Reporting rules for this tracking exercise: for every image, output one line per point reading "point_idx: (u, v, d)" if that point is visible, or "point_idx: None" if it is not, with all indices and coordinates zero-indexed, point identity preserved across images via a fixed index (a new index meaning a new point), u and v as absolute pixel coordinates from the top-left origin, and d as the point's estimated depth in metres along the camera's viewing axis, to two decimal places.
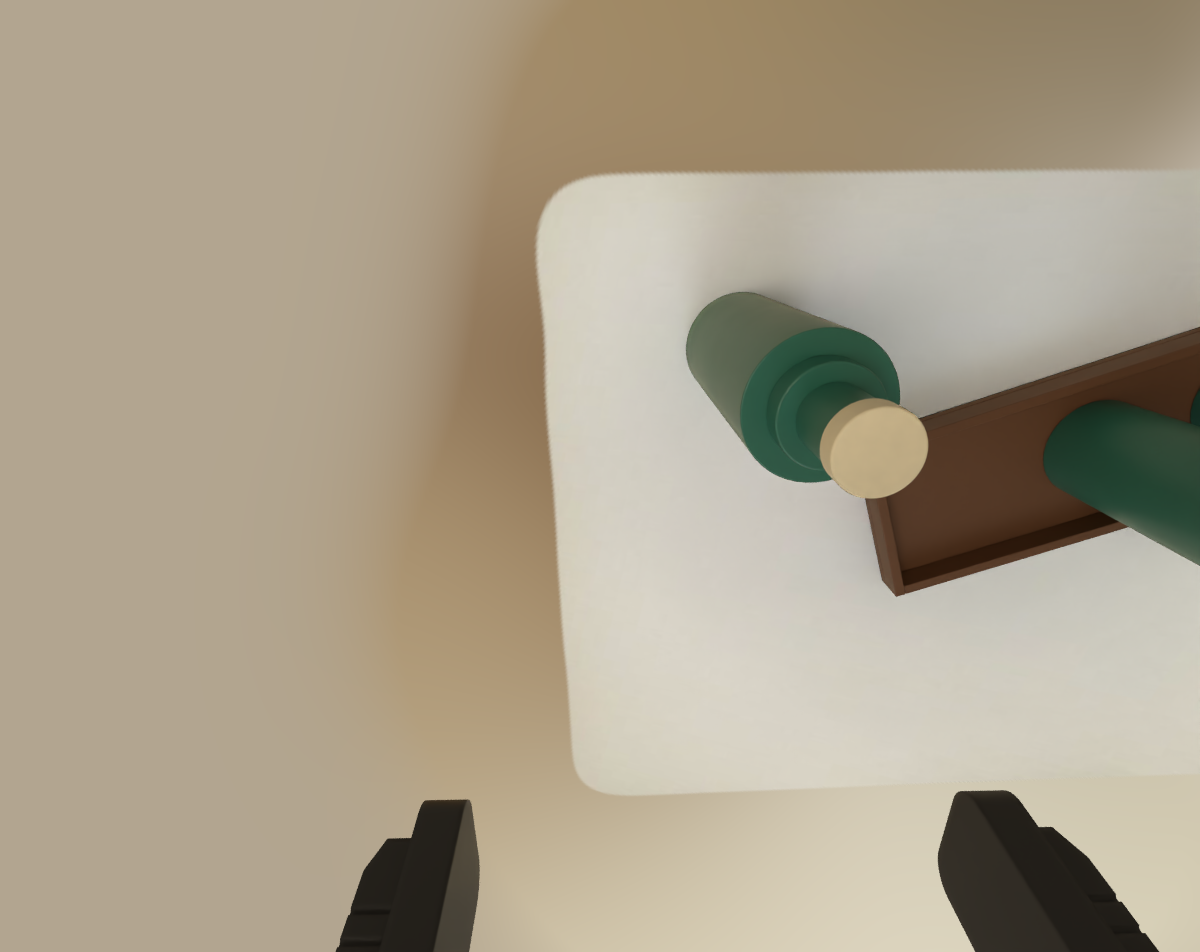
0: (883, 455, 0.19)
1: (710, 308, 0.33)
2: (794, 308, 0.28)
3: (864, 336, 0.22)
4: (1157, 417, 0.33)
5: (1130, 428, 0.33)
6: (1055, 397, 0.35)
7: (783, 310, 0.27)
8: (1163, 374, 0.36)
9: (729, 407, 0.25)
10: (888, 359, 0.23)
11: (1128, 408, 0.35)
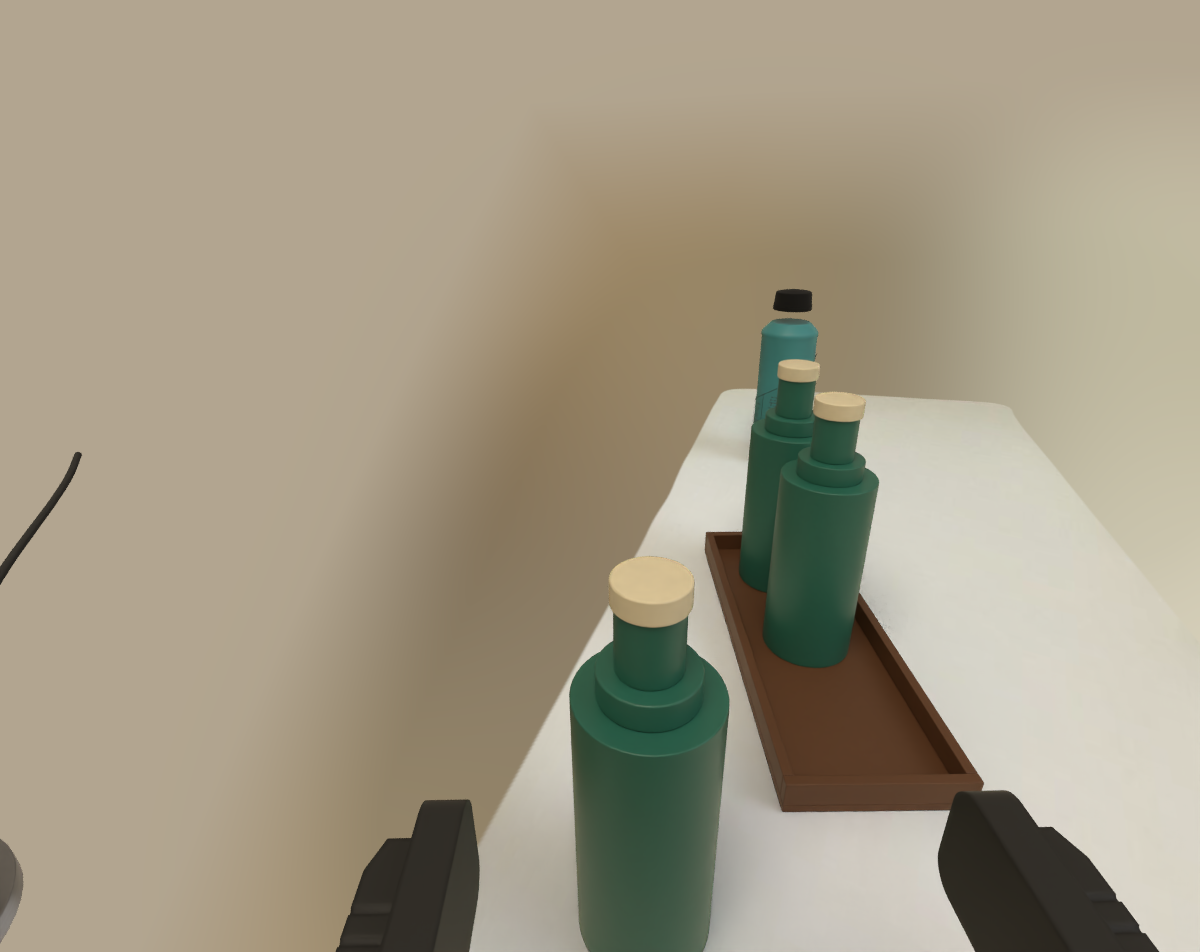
0: (653, 576, 0.21)
1: (582, 922, 0.27)
2: None
3: (593, 656, 0.25)
4: (767, 591, 0.44)
5: (773, 602, 0.43)
6: (750, 650, 0.42)
7: None
8: (747, 606, 0.49)
9: (637, 795, 0.22)
10: None
11: None
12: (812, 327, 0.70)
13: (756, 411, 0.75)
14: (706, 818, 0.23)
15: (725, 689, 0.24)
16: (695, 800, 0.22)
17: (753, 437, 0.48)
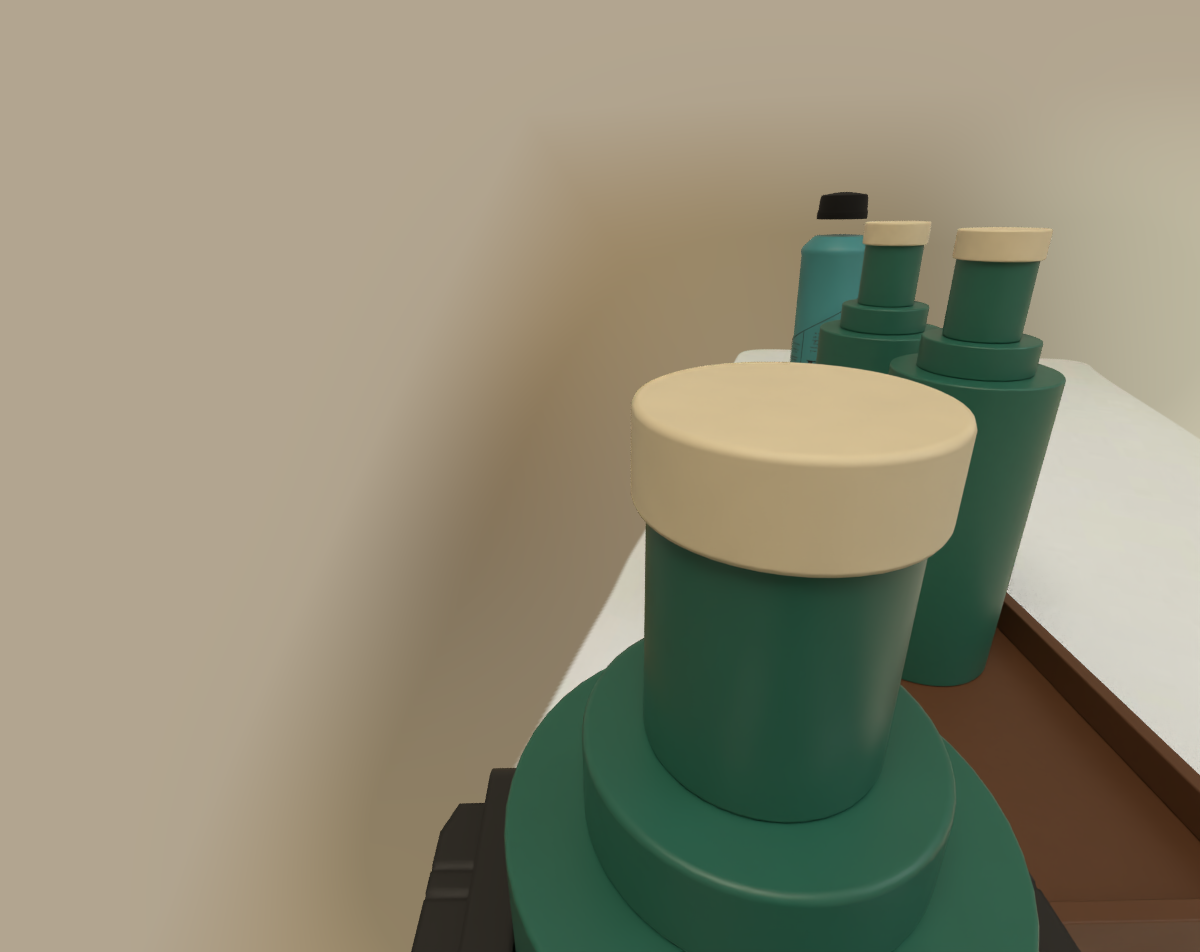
0: (797, 395, 0.06)
1: None
2: None
3: (582, 685, 0.10)
4: None
5: None
6: None
7: None
8: None
9: None
10: None
11: None
12: None
13: (794, 354, 0.59)
14: None
15: (982, 787, 0.08)
16: None
17: (824, 340, 0.32)
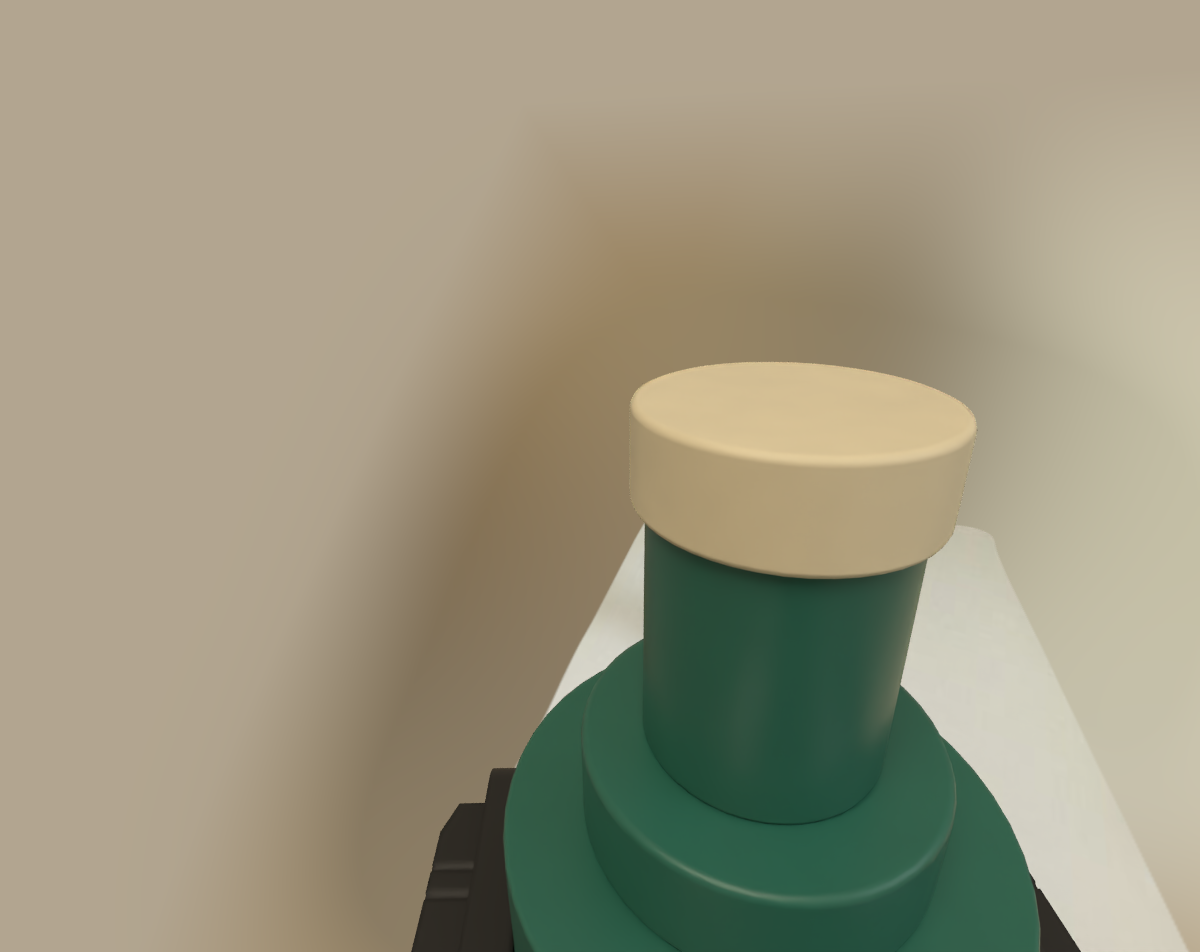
0: (797, 395, 0.06)
1: None
2: None
3: (582, 686, 0.09)
4: None
5: None
6: None
7: None
8: None
9: None
10: None
11: None
12: None
13: None
14: None
15: (982, 788, 0.08)
16: None
17: None
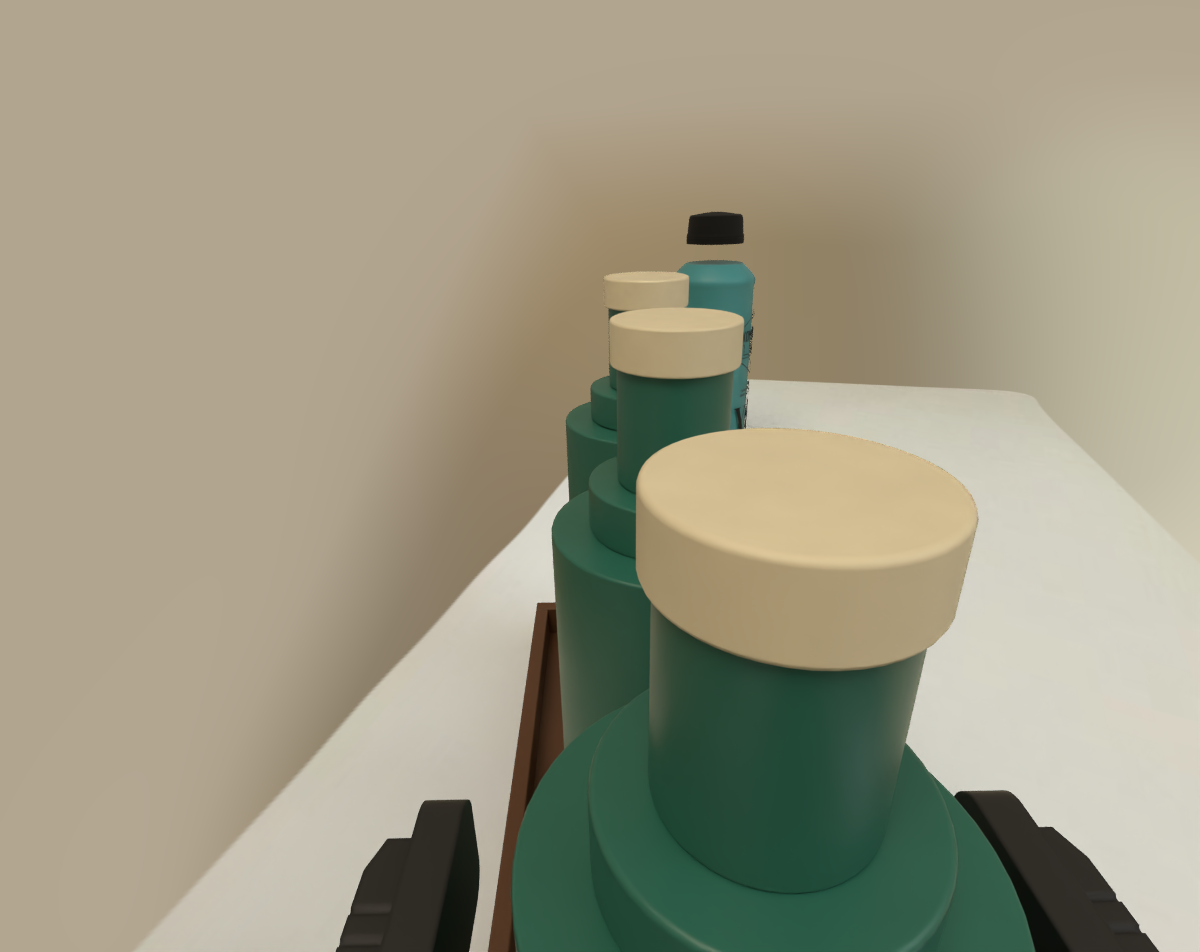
0: (802, 473, 0.06)
1: None
2: None
3: (587, 730, 0.10)
4: None
5: None
6: (504, 940, 0.18)
7: None
8: None
9: None
10: None
11: None
12: (745, 269, 0.46)
13: None
14: None
15: (984, 842, 0.08)
16: None
17: (567, 433, 0.23)
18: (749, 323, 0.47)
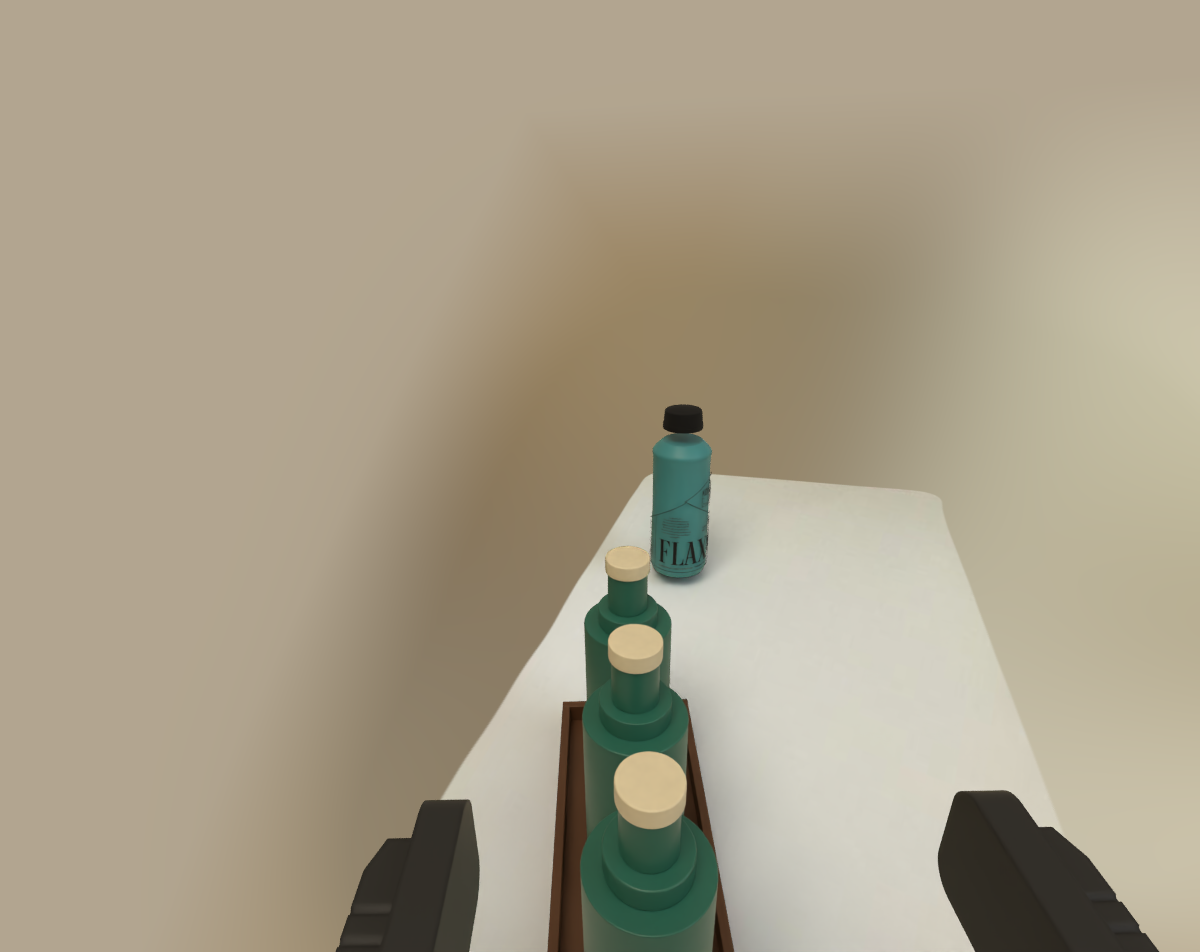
0: (651, 777, 0.25)
1: None
2: None
3: (600, 822, 0.29)
4: None
5: None
6: (557, 902, 0.37)
7: None
8: (585, 813, 0.44)
9: None
10: None
11: None
12: (703, 447, 0.65)
13: (652, 529, 0.70)
14: None
15: (714, 860, 0.27)
16: None
17: (585, 630, 0.43)
18: (707, 482, 0.67)
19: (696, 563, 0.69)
